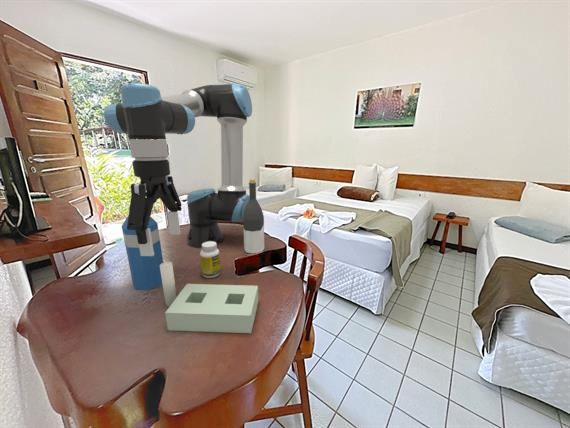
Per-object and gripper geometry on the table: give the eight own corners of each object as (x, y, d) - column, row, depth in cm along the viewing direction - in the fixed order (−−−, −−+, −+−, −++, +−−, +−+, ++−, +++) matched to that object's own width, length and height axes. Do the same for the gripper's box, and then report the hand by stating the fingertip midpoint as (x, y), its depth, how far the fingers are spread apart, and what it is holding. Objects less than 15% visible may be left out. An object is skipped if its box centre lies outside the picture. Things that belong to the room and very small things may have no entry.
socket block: (188, 299, 69) (186, 283, 68) (258, 301, 69) (258, 285, 67) (167, 330, 58) (165, 312, 57) (251, 333, 57) (250, 315, 56)
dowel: (169, 299, 69) (163, 261, 66) (179, 299, 69) (174, 261, 66) (163, 306, 66) (157, 267, 63) (174, 306, 66) (168, 267, 63)
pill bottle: (215, 279, 79) (213, 248, 76) (198, 277, 80) (195, 246, 77) (224, 270, 85) (222, 241, 82) (207, 268, 86) (205, 239, 83)
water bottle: (172, 278, 80) (161, 204, 73) (146, 293, 72) (131, 212, 64) (152, 271, 84) (141, 201, 76) (125, 286, 75) (109, 208, 68)
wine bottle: (245, 248, 102) (242, 177, 94) (264, 248, 103) (263, 177, 94) (243, 257, 95) (239, 180, 86) (263, 257, 95) (262, 180, 86)
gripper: (162, 155, 68) (171, 227, 74) (92, 163, 44) (114, 267, 51) (188, 156, 68) (195, 227, 74) (132, 163, 44) (149, 268, 50)
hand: (162, 243), depth 62 cm, fingers open, 13 cm apart
